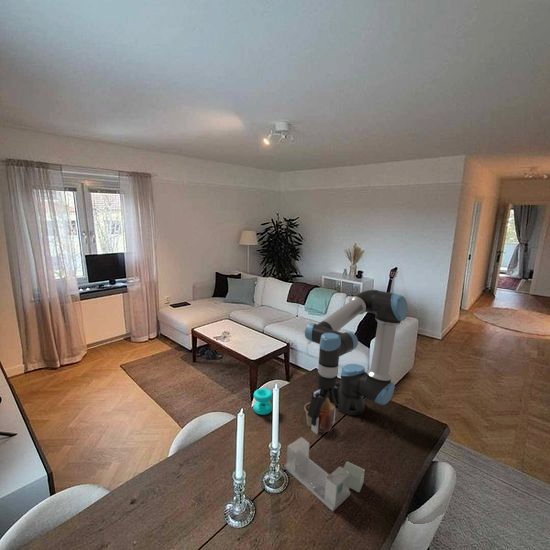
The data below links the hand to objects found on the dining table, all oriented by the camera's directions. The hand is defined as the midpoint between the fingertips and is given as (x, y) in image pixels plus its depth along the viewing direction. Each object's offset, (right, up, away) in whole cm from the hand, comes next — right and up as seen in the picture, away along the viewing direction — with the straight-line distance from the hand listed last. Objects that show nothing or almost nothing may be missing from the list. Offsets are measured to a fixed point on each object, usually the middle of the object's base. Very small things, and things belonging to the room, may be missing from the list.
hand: (323, 426), depth 120 cm
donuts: (-25, -10, +38) cm, 47 cm away
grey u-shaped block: (-3, -19, -4) cm, 19 cm away
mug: (0, -2, 0) cm, 2 cm away
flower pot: (0, -13, +28) cm, 31 cm away
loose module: (+10, -19, -5) cm, 22 cm away
